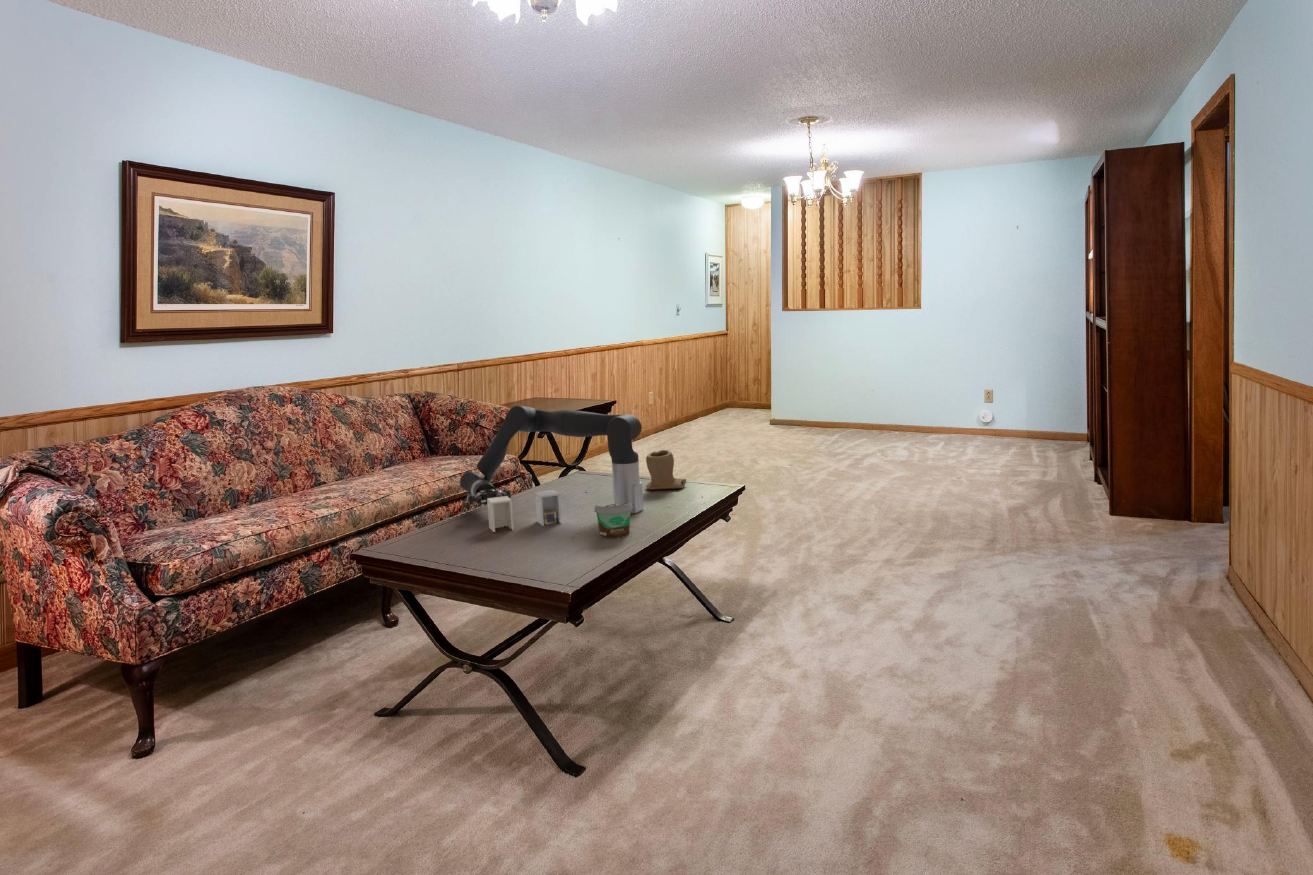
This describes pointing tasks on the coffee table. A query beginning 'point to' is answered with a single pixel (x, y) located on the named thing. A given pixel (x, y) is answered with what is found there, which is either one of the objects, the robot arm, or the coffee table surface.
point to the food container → (614, 520)
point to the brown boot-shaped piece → (662, 471)
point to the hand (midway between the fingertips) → (493, 500)
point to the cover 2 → (547, 504)
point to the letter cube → (549, 516)
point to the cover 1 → (500, 512)
